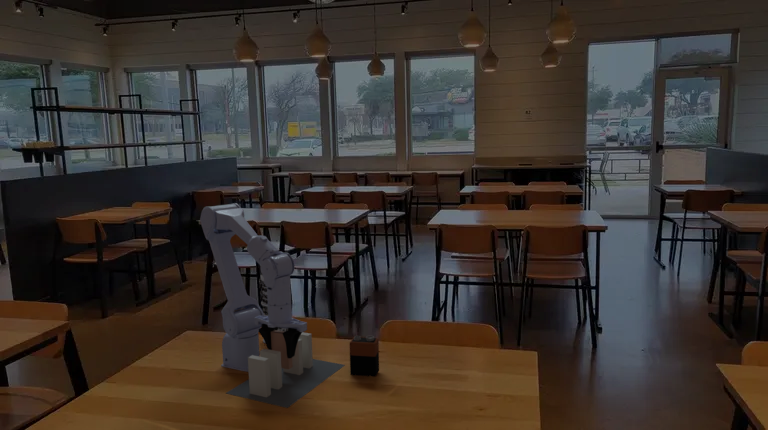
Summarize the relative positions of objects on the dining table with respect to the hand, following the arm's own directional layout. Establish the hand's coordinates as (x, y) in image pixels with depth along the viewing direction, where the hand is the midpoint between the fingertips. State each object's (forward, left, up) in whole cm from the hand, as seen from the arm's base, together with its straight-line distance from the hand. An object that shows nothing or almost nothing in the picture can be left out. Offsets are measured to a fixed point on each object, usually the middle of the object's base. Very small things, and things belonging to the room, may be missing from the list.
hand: (281, 355), depth 141 cm
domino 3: (0, 0, -3) cm, 3 cm away
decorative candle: (-19, +23, -7) cm, 31 cm away
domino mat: (+1, +1, -7) cm, 7 cm away
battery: (+17, +12, -7) cm, 22 cm away
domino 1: (0, -9, -6) cm, 11 cm away
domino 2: (0, -4, -6) cm, 8 cm away
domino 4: (0, +5, -6) cm, 8 cm away
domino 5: (0, +9, -6) cm, 11 cm away
